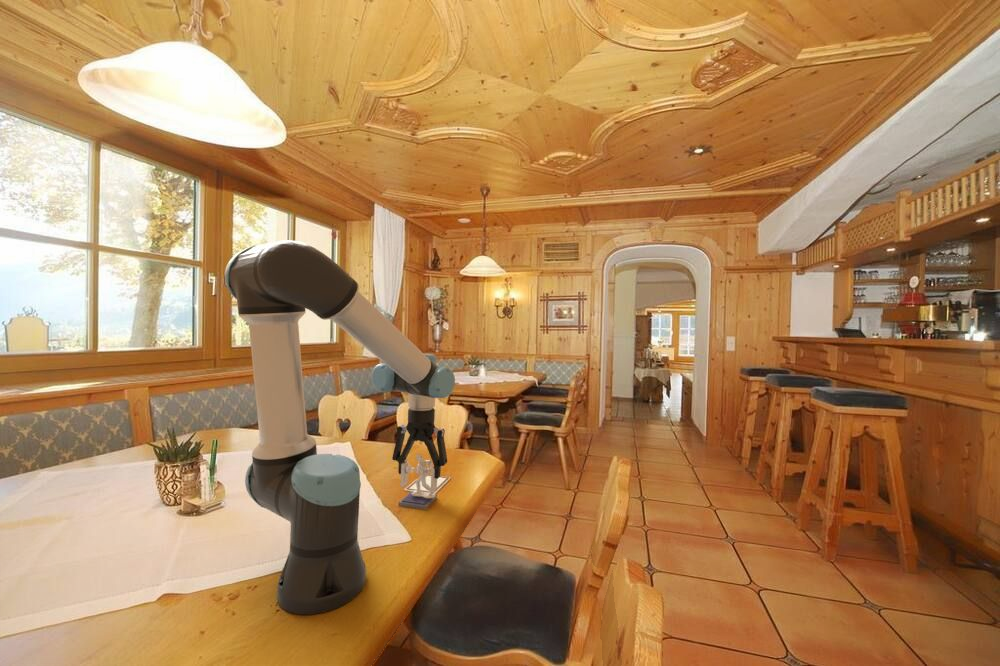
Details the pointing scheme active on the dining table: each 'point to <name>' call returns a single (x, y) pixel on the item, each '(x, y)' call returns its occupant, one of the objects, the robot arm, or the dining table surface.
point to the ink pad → (416, 501)
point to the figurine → (421, 477)
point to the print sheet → (440, 483)
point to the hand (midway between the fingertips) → (418, 487)
